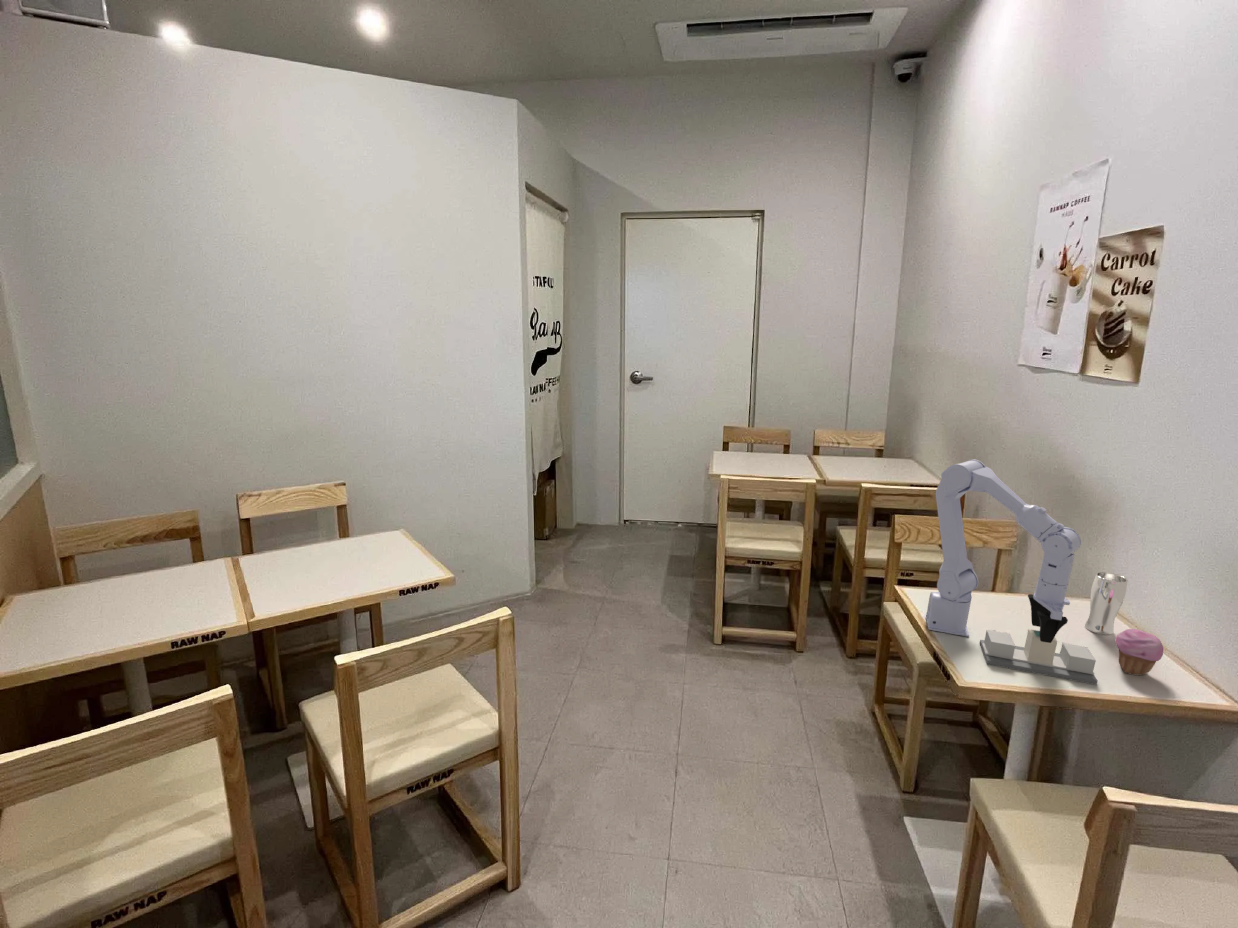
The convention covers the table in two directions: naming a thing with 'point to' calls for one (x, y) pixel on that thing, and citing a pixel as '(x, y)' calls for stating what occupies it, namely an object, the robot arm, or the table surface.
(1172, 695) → the table surface
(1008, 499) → the robot arm
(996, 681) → the table surface
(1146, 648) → the cupcake
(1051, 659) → the block
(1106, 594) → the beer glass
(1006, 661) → the rail board
